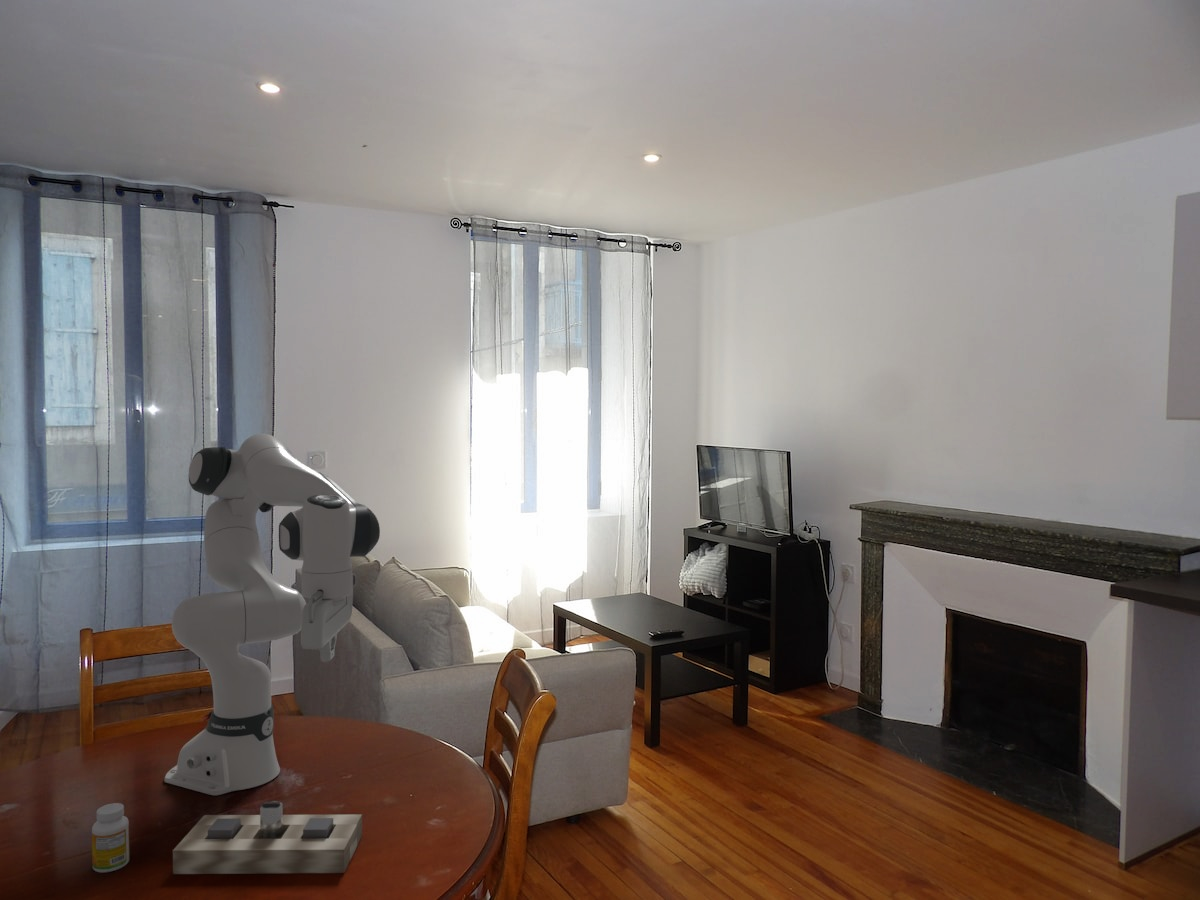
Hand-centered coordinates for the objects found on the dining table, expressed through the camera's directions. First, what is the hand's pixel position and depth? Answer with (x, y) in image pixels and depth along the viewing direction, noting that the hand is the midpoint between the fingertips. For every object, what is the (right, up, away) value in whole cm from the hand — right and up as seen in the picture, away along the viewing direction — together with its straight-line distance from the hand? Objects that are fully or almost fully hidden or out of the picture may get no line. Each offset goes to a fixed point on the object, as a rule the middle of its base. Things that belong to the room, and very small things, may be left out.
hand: (327, 659), depth 154 cm
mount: (-7, -32, -9) cm, 33 cm away
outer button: (+1, -31, -8) cm, 32 cm away
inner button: (-15, -31, -9) cm, 36 cm away
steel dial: (-7, -28, -9) cm, 30 cm away
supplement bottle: (-32, -32, -12) cm, 47 cm away
